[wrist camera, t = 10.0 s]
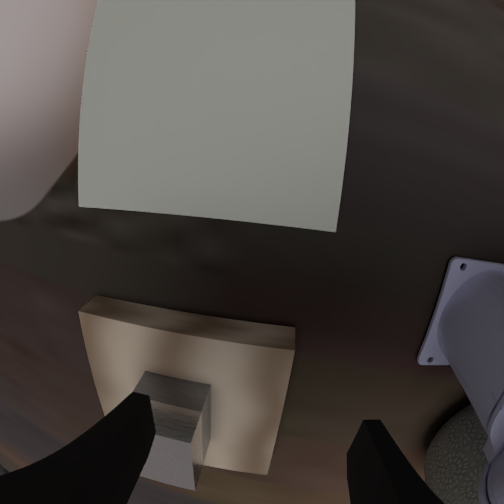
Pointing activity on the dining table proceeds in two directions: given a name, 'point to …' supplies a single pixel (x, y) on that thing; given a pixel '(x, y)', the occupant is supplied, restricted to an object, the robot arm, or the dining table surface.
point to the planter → (457, 458)
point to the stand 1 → (218, 109)
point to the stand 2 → (197, 370)
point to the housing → (177, 428)
